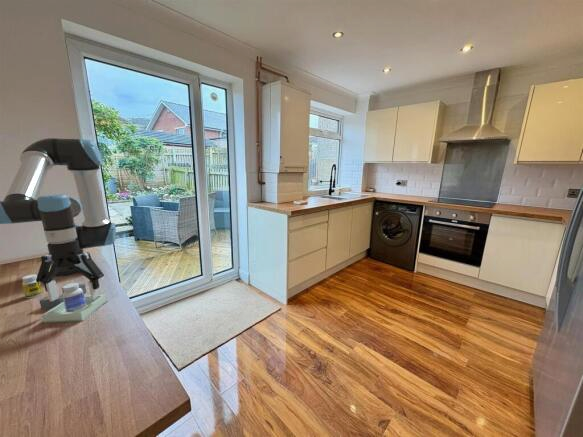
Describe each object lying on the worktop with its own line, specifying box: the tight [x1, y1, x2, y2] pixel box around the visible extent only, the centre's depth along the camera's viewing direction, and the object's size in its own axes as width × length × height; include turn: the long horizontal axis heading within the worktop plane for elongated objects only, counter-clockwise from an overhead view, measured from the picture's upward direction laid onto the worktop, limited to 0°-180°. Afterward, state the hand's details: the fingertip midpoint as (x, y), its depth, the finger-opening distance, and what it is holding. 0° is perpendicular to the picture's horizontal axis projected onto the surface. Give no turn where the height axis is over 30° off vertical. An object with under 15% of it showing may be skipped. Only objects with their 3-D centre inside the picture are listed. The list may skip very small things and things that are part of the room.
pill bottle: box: [61, 282, 86, 312], centre depth 84 cm, size 5×5×10 cm
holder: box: [39, 283, 87, 310], centre depth 92 cm, size 12×7×4 cm, turn 4°
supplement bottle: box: [21, 274, 43, 299], centre depth 96 cm, size 5×5×8 cm
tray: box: [41, 293, 108, 324], centre depth 84 cm, size 12×12×3 cm
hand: (75, 298), depth 84 cm, fingers open, 13 cm apart
